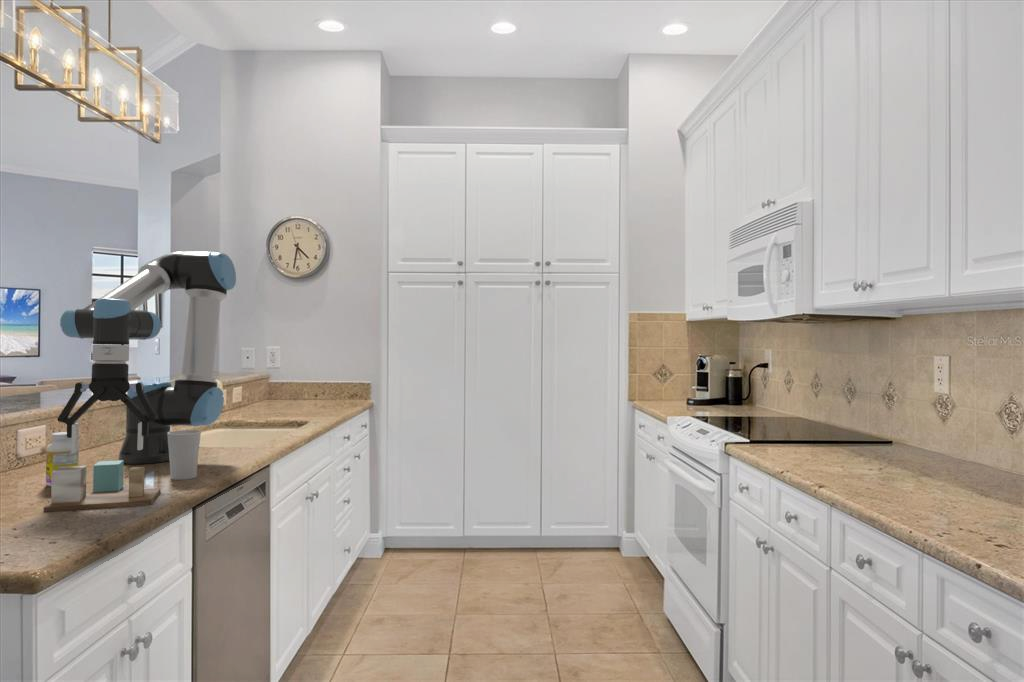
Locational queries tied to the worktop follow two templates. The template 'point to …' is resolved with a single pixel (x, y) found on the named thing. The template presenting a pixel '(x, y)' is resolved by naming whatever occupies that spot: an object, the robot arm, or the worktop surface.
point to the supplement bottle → (60, 455)
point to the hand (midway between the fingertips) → (107, 450)
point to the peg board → (73, 496)
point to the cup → (183, 453)
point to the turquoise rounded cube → (108, 476)
